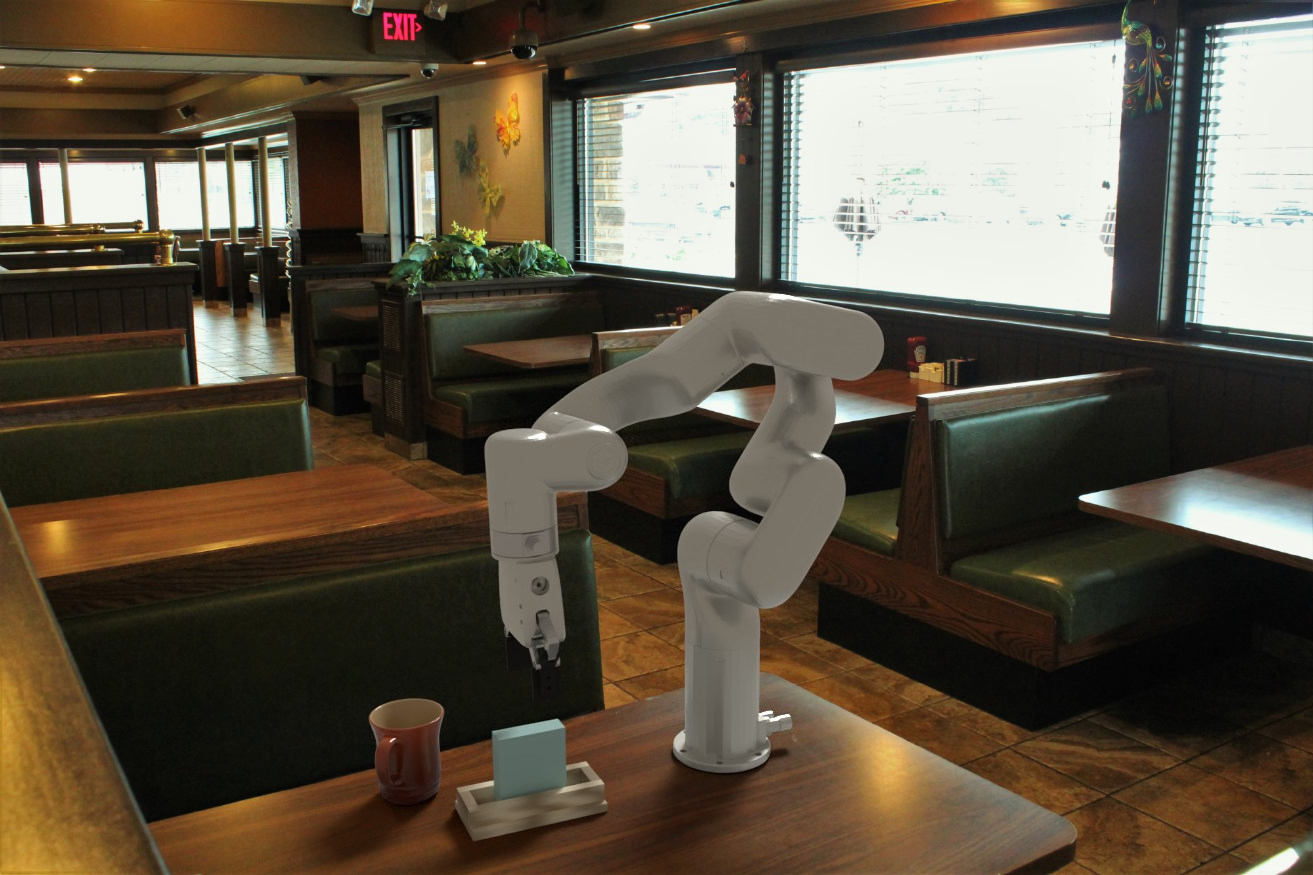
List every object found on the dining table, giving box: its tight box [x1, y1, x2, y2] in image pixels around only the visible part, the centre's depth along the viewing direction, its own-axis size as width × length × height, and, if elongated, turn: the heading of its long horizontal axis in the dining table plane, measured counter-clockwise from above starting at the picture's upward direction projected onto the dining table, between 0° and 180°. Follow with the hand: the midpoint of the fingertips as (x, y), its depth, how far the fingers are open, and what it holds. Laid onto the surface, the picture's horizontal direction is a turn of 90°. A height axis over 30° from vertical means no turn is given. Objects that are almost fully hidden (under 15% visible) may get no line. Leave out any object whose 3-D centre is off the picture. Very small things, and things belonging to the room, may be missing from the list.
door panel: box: [491, 718, 567, 802], centre depth 131 cm, size 8×3×9 cm, turn 114°
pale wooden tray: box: [454, 761, 609, 842], centre depth 132 cm, size 16×8×3 cm, turn 114°
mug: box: [368, 698, 445, 806], centre depth 134 cm, size 12×9×10 cm
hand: (533, 683), depth 130 cm, fingers open, 9 cm apart
